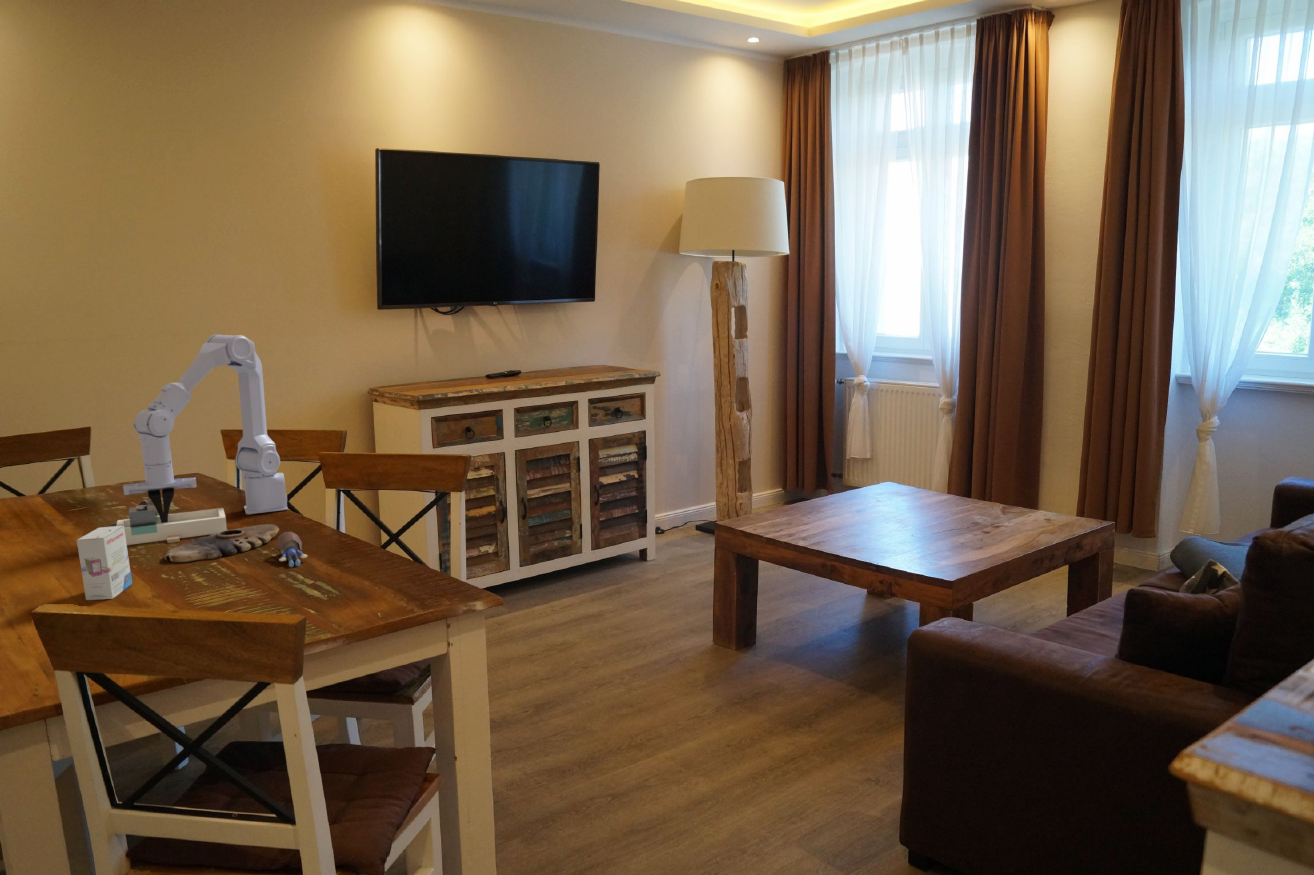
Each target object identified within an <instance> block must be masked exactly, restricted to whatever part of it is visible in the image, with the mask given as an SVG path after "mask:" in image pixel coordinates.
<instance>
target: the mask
mask: <svg viewBox="0 0 1314 875" xmlns="http://www.w3.org/2000/svg"><path fill="white" fill-rule="evenodd" d="M279 531H280V528H279V526H278V525H275V524H272V523H270V524H269V523H268V524H257V525H251V526H245V527H239V528H235V529H227V530H226V531H222V532H219V533H216V534H209V535H208V536H204V537H203V536H202V537H198V538H196V539H194V540H192V541H191V540H190V541H186V542H183V543H181V545H178V546H175V547H172V548H170V549H169V550H168V551H166V552H165V554H164V560H165V561H167V562H171V563H189V562H195V561H201V560H215V559H219V558H222V557H230V556H234V555H236V554H238V553H239V552H240V553H245V552H247V551H249V550H250V549H254V548H259V547H260V546H262V545H263V544H266V543H269V542H270V541H272V540H271V539H273V538H275V537H276V536H277V535H278V533H279Z"/></svg>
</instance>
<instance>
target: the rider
mask: <svg viewBox="0 0 1314 875" xmlns="http://www.w3.org/2000/svg"><path fill="white" fill-rule="evenodd" d="M138 505H139V504H138ZM138 505H136V506H135V507H132V506H131V507H129V510H128V517H129V518H128V519H130V527H131V528H132V527H140V526H149V525H157V523H156V514H155V509H156V507H155V506H154V504H152V505H150V506H147V505H139V506H138Z"/></svg>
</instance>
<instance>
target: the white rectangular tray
mask: <svg viewBox="0 0 1314 875" xmlns="http://www.w3.org/2000/svg"><path fill="white" fill-rule="evenodd" d="M116 523H117V525H116V526H124V530H125V537H126V544H127V546H131V545H137V544H138V545H139V544H145V543H154V542H161V541H166V542H167V544H171V543H179V542H180V539H186V538H193V537H200V536H207V535H208V536H210V535H212V534H216V533H219V532H222V531H226V530H228V528H227V526H228V525H227V518H226V514H225V509H224V507H218V508H209V509H201V510H194V511H185V512H177V513H168V522H166V523H161V519H160V516H159V515H158V516H156V523H157V525H149V526H140V527H132V528H131V527H130V519H129V518H125V519H117V521H116Z"/></svg>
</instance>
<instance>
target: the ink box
mask: <svg viewBox="0 0 1314 875" xmlns="http://www.w3.org/2000/svg"><path fill="white" fill-rule="evenodd" d="M76 544H77V545H76V546H77V549H78V550H77V551H78V558H79V562H80V568H81V576H82V582H83V590H84V596H85V601H97V600H112V599H113V600H114V598H116V597H117V596H119V595H120V594H121V593H122V592H123V591H125V590H126V589H128V588H129V587H130V586H132V585H133V580H132V579H133V578H132V572H131V567H130V560H129V553H128V545H127V544H126V537H125V530H124V526H112V527H111V526H103V527H97V528H96V529H94V530H92V531H90V532H89V533H86V534H85V535H83V536H81V537H80V538H78V539H76Z"/></svg>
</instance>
